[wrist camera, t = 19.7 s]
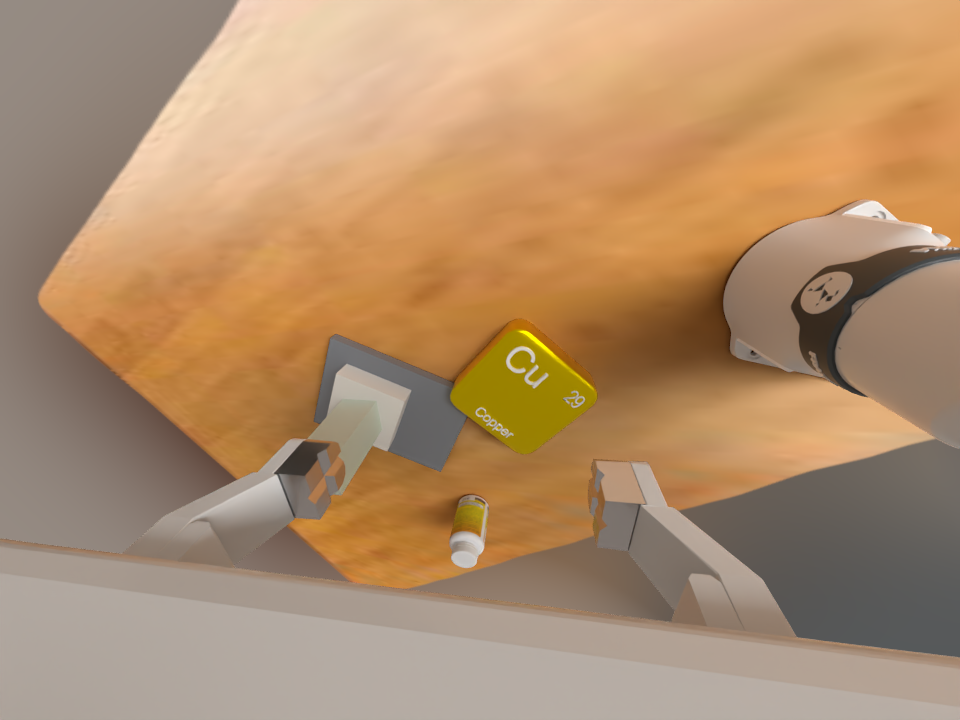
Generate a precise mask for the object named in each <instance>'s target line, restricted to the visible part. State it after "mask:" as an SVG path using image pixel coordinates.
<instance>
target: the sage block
mask: <svg viewBox="0 0 960 720" xmlns="http://www.w3.org/2000/svg"><path fill="white" fill-rule="evenodd" d="M381 431H382V427H381V421H380V416H379V411H378V406H377V401H371V400H351V399H342V400H341V402H340V403H339V404H338V405H337V406H336V407H335V408H334V409H333V411H332V412H331V413H330V414H329V415H328V416H327V417H326V418H325V419H324V421H323V422H322V423H321V424H320V425H319V426H318V427H317V428H316V429H315V431H314V432H313V433H312V434H311V435H310V436H309V437H308V438H307V439H312V440H323V441H334V442H337V443H339V446H340V449H341V452H340V454H339V455H338V456H339V457H340V458H341V459H342V460H343V461H344V464H345V478H344V481H343V484H342V486H341V487H340V489H339V491H337V492H336V493H334V494H335V495H342V494H343V492H344V491H345V489H346V487H347V486H348V484H349V482H350V481H351V479H352V478H353V476H354V474H355V473H356V471H357V470H358V468H359V466H360V465H361V463H362V461H363V460H364V458H365V457H366V455H367V453H368V452H369V450H370V448H371V447H372V445H373V444H374V442H375V440H376V439H377V437H378V436H379V434H380V432H381Z"/></svg>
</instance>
